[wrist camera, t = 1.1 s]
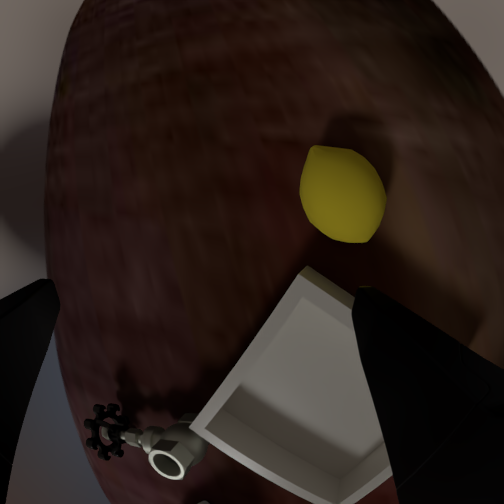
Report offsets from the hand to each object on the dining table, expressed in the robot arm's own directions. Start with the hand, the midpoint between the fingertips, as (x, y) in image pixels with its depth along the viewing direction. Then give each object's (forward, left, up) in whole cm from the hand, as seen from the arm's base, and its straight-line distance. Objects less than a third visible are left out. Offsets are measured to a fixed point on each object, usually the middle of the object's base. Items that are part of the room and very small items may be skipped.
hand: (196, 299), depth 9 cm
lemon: (-1, -5, -16) cm, 17 cm away
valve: (+1, +21, -16) cm, 27 cm away
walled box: (-9, +8, -15) cm, 19 cm away
